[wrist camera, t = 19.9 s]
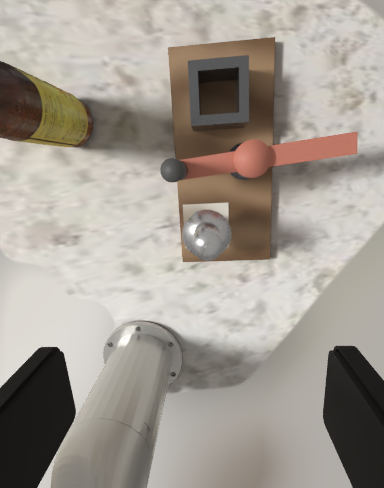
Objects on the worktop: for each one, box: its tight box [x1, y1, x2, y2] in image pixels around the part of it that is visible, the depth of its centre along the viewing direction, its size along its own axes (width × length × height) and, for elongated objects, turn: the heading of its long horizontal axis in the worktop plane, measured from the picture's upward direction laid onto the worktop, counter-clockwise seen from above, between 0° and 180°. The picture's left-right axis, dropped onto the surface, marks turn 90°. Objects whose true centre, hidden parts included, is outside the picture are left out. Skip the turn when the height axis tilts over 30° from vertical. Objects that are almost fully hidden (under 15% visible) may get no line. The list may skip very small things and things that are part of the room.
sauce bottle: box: [0, 61, 93, 147], centre depth 25 cm, size 6×6×20 cm
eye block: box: [188, 55, 249, 131], centre depth 30 cm, size 6×6×4 cm
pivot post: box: [229, 142, 250, 180], centre depth 31 cm, size 4×4×5 cm
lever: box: [161, 132, 357, 182], centre depth 25 cm, size 18×4×6 cm, turn 98°
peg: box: [182, 209, 231, 261], centre depth 31 cm, size 6×6×10 cm
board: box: [168, 37, 275, 262], centre depth 34 cm, size 26×12×1 cm, turn 3°
